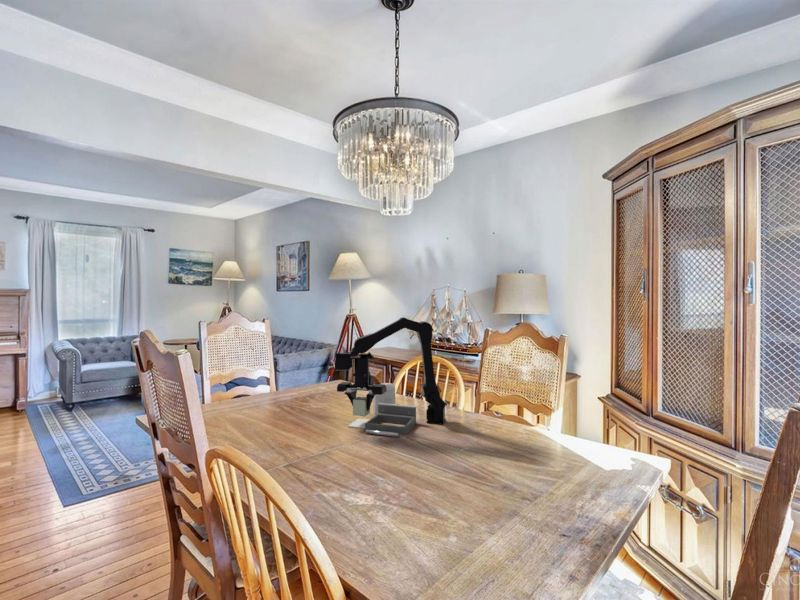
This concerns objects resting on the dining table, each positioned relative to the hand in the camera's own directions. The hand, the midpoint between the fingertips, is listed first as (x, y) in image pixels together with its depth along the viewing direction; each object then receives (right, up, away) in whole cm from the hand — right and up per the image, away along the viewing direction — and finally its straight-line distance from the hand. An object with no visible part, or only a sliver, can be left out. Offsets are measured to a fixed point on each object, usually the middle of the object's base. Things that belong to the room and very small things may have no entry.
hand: (361, 410), depth 159 cm
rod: (+8, -6, -13) cm, 16 cm away
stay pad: (0, -5, 0) cm, 5 cm away
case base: (+11, -5, -4) cm, 13 cm away
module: (0, -2, 0) cm, 2 cm away
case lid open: (+14, -5, +4) cm, 15 cm away
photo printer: (+8, -6, +16) cm, 19 cm away
